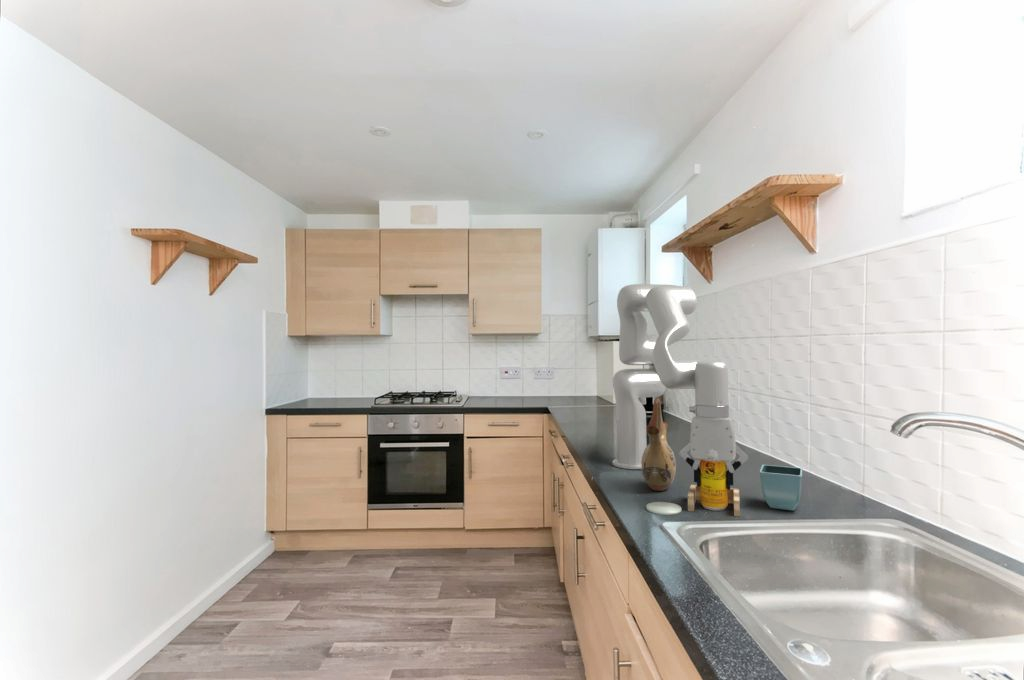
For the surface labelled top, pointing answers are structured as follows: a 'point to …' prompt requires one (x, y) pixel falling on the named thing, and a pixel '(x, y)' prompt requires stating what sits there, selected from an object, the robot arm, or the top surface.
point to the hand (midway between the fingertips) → (713, 485)
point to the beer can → (713, 482)
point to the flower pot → (781, 486)
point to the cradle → (732, 494)
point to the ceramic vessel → (658, 453)
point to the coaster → (664, 508)
